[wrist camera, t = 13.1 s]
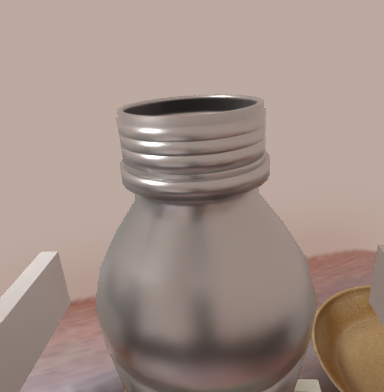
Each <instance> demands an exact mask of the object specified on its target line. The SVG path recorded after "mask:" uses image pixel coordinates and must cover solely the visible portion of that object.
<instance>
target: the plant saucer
mask: <svg viewBox="0 0 384 392" xmlns="http://www.w3.org/2000/svg"><path fill="white" fill-rule="evenodd" d="M370 290H371V285H365V286H358V287H354V288H350V289H347V290H344V291H341V292H339V293H337V294H335V295H333V296H331V297H330V298H328V299H327V300H326V301H325V302H324V303H323V304H322V305H321V306H320V307H319V309H318V311H317V312H316V314H315V318H314V323H313V328H312V340H313V345H314V349H315V352H316V355H317V357H318V360H319V362H320V364H321V366H322V368H323V369H324V371H325V372H326V374H327V375H328V377H329V378H330V380H331V381H332V382H333V384H334V385H335V386H336V387H337V388H338V390H339V391H340V392H384V326H383V325H382V323H381V321H380V320H379V318H378V316H377V315H376V313H375V311H374V310H373V308H372V306H371V305H370V303H369V296H370Z"/></svg>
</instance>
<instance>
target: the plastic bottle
mask: <svg viewBox="0 0 384 392" xmlns="http://www.w3.org/2000/svg"><path fill="white" fill-rule="evenodd" d="M117 114H118V118H117V124H118V130H119V137H120V143H121V150H122V156H123V160H122V161H121V163H120V169H121V175H122V181H123V185H124V186H125V187H126V189H128V190H129V191H131V192H133V193H135V201H134V203H133V204H132V206H131V208H130V209H129V211H128V212H127V214H126V216H125V217H124V219H123V221H122V222H121V224H120V226H119V227H118V229H117V231H116V233H115V235H114V237H113V239H112V241H111V244H110V246H109V248H108V250H107V252H106V255H105V257H104V259H103V262H102V265H101V267H100V272H99V280H98V287H97V294H96V311H97V315H98V319H99V322H100V326H101V329H102V332H103V335H104V338H105V342H106V345H107V348H108V350H109V351H110V355H111V357H112V360H113V362H114V364H115V367H116V369H117V371H118V374H119V376H120V379H121V381H122V383H123V386H124V388H125V391H126V392H294V390H295V387H296V383H297V380H298V377H299V374H300V370H301V367H302V364H303V361H304V357H305V354H306V351H307V348H308V344H309V341H310V339H311V334H312V328H313V323H314V318H315V314H316V300H317V297H316V294H315V290H314V286H313V282H312V278H311V274H310V270H309V267H308V263H307V259H306V257H305V255H304V254H303V252H302V250H301V249H300V247H299V246H298V244H297V243H296V241H295V240H294V238H293V236H292V235H291V233H290V232H289V231H288V229H287V227H286V226H285V224H284V223H283V221H282V220H281V219H280V218H279V216H278V215H277V214H276V213H275V212H274V211H273V209H272V208H271V207H270V206H269V204H267V202H266V201H265V200H264V198H263V197H262V196H261V195H260V194H259V189H258V187H259V186H261V185H262V184H263V183H264V182H265V181H267V179H268V177H269V174H270V173H269V171H270V169H269V167H270V166H269V165H270V160H269V154H268V153H267V152H266V151H265V114H266V111H265V108H264V100H262V99H261V98H257V97H252V96H244V95H243V96H242V95H194V96H179V97H169V98H161V99H153V100H146V101H141V102H136V103H132V104H128V105H125V106H122V107H120V108H118V109H117Z"/></svg>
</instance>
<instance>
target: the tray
mask: <svg viewBox="0 0 384 392" xmlns="http://www.w3.org/2000/svg"><path fill="white" fill-rule="evenodd" d="M124 392H126V391H125V390H124ZM294 392H321V389H320V386H319V382H318V380H315V379H298V380H297V383H296V387H295V390H294Z"/></svg>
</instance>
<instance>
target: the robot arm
mask: <svg viewBox="0 0 384 392" xmlns="http://www.w3.org/2000/svg"><path fill="white" fill-rule="evenodd" d="M369 303H370V305H371V306H372V308H373V310H374V311H375V313H376V315H377V316H378V318H379V320H380V321H381V323H382V325H383V326H384V245H378V248H377V254H376V260H375V266H374V272H373V278H372V284H371V290H370V296H369ZM70 304H71V301H70V298H69V293H68V290H67V285H66V282H65V278H64V274H63V270H62V266H61V262H60V258H59V254H58V252H40V254H39V255H38V256H37V257H36V258H35V259H34V260H33V262H32V263H31V264H30V265H29V266H28V267H27V268H26V269H25V271H24V272H23V273H22V274H21V275H20V276H19V277H18V278H17V280H16V281H15V282H14V283H13V284H12V285H11V286H10V287H9V289H8V290H7V291H6V292H5V293H4V294H3V295H2V297H1V298H0V392H19V391H20V389H21V388H22V386H23V384H24V383H25V381H26V379H27V377H28V376H29V374H30V372H31V371H32V369H33V367H34V365H35V364H36V362H37V360H38V359H39V357H40V355H41V353H42V352H43V350H44V348H45V347H46V345H47V343H48V342H49V340H50V338H51V336H52V335H53V333H54V331H55V330H56V328H57V326H58V324H59V323H60V321H61V319H62V318H63V316H64V314H65V312H66V311H67V309H68V307H69V306H70Z"/></svg>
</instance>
